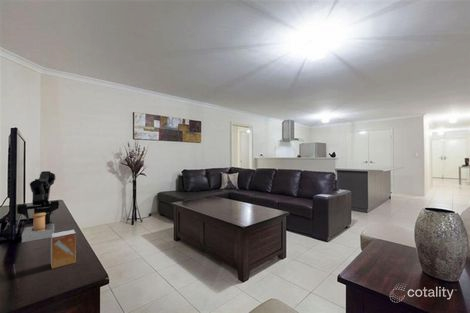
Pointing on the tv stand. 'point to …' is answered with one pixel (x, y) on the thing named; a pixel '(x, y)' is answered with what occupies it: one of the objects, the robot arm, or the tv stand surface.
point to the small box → (63, 248)
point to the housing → (37, 233)
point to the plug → (38, 221)
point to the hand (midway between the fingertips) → (39, 218)
